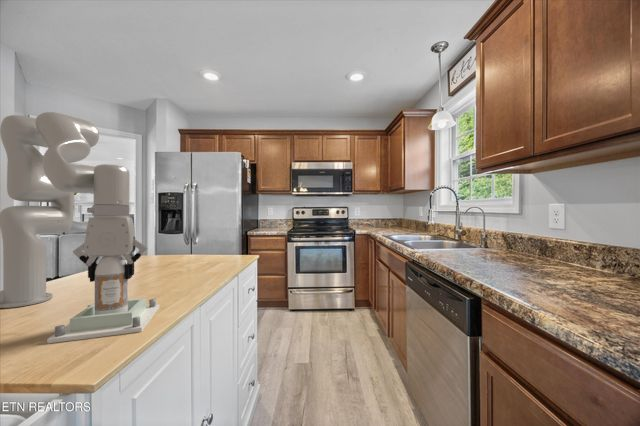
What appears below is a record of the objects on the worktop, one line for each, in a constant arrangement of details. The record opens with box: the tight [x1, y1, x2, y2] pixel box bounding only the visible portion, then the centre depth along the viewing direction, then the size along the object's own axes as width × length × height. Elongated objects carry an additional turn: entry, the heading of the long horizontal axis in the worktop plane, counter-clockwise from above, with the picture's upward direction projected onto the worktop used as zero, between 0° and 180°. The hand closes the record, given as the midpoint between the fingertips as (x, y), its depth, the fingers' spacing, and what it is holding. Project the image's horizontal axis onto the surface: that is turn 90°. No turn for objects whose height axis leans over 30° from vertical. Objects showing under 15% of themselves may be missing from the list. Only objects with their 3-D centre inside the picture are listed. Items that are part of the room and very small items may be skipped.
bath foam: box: [94, 255, 129, 315], centre depth 71 cm, size 7×7×20 cm
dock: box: [46, 297, 160, 344], centre depth 71 cm, size 18×18×4 cm
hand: (111, 278), depth 71 cm, fingers closed on bath foam, 7 cm apart
